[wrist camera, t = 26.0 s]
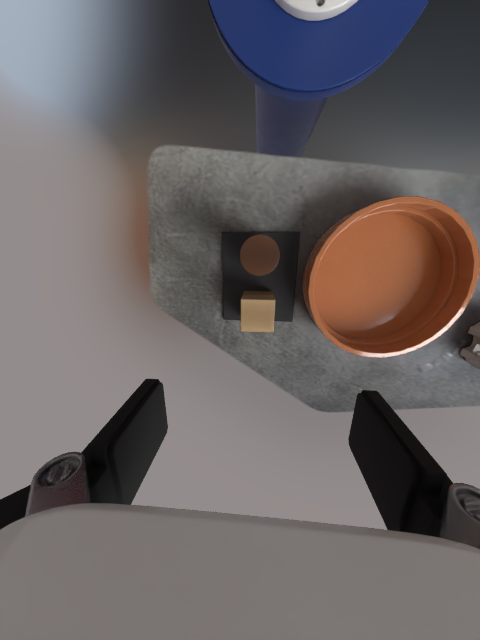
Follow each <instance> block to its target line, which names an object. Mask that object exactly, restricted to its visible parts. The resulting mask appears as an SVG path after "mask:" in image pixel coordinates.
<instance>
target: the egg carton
mask: <svg viewBox="0 0 480 640" xmlns="http://www.w3.org/2000/svg"><path fill="white" fill-rule="evenodd" d="M468 333H469V334H472V335H473V337H474V338H473V342H472V344H471V345H470V346H469V347H467V348H462V350H461V352H460V355H462V356H464V357H465V358H466V361H467V362H468V363H470V364H471V365H472V366H474V367H475V368H477V369H480V322H479V323H477V324H476V325H474V326H471V327H470V329H469V331H468Z"/></svg>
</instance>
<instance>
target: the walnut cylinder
mask: <svg viewBox="0 0 480 640" xmlns="http://www.w3.org/2000/svg"><path fill="white" fill-rule="evenodd" d="M279 257H280V252H279V248H278V245H277V244H276V242H275V241H274V240H273V239H272V238H271V237H269V236H266V235H262V234H259V235H254V236H252V237H250V238H248V239H247V240H246V241H245V242H244V244H243V245H242V247H241V250H240V261H241V264H242V266H243V267H244V269H245V270H246V271H247V272H249V273H250V274H253V275H256V276H262V275H266V274H268V273H270V272H271V271H273V270H274V268H275V267H276V266H277V264H278V261H279Z"/></svg>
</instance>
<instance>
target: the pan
mask: <svg viewBox="0 0 480 640" xmlns="http://www.w3.org/2000/svg"><path fill="white" fill-rule="evenodd" d="M479 267H480V256H479V250H478V245H477V240H476V238H475V236H474V234H473V232H472V230H471V228H470V226H469V225H468V223H467V222H466V221H465V220H464V219H463V218H462V217H461V216H460V215H459V214H458V213H457V212H456V211H455V210H453V209H452V208H450V207H448V206H446V205H445V204H443V203H441V202H439V201H435V200H431V199H427V198H423V197H395V198H391V199H387V200H383V201H379V202H376V203H373V204H371V205H368V206H366V207H363V208H361V209H359V210H357V211H355V212H353V213H350V214H348V215H346V216H344V217H343V218H342V219H340V220H339V221H338V222H336V223H335V224H334V225H332V226H331V227H330V228H329V229H328V230H327V231H326V232H325V233H324V234H323V235H322V237H321V238H320V239H319V240H318V241H317V243H316V244H315V246H314V248H313V250H312V251H311V253H310V255H309V257H308V260H307V263H306V266H305V269H304V273H303V284H302V290H303V297H304V303H305V305H306V308H307V310H308V313H309V315H310V317H311V318H312V319H313V321H314V322H315V323H316V325H317V326H318V327H319V329H320V330H321V331H322V333H323V334H324V335H325V336H326V337H327V338H328V339H329V340H330V341H332V342H333V343H334V344H335V345H336V346H338V347H340V348H342V349H344V350H346V351H348V352H350V353H353V354H357V355H361V356H365V357H389V356H396V355H402V354H405V353H408V352H411V351H414V350H417V349H419V348H421V347H422V346H424V345H426V344H428V343H430V342H432V341H433V340H435V339H436V338H438V337H439V336H440V335H441V334H443V333H444V332H445V331H446V330H448V329H449V328H450V327H451V326H452V325H453V323H454V322H455V321H456V320H457V319H458V318H459V317H460V315H461V314H462V313H463V311H464V310H465V308H466V306H467V305H468V303H469V301H470V299H471V298H472V296H473V293H474V290H475V287H476V284H477V281H478V278H479Z"/></svg>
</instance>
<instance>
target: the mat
mask: <svg viewBox="0 0 480 640" xmlns="http://www.w3.org/2000/svg"><path fill="white" fill-rule="evenodd" d="M259 234H262V235H266V236H269V237H271V238H272V239H273V240H274V241H275V242H276V244H277V245H278V248H279V252H280V257H279V261H278V264H277V266H276V267H275V268H274V270H273V271H271V272H270V273H268V274H266V275H262V276H256V275H253V274H250V273H249V272H247V271H246V270H245V269H244V267H243V266H242V264H241V261H240V250H241V247H242V245H243V244H244V242H245V241H246V240H247V239H248V238H250V237H252V236H254V235H259ZM299 234H300V232H222V257H223V314H224V319H225V320H241V298H242V295H243V293H244V291H271V292H273V295H274V298H275V316H274V321H290V322H292V319H293V307H294V295H295V283H296V271H297V258H298V246H299Z"/></svg>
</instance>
